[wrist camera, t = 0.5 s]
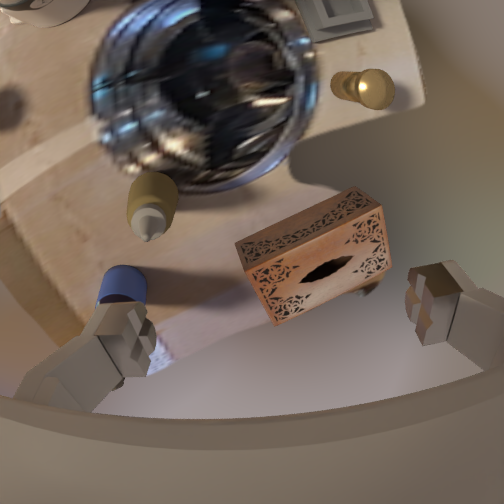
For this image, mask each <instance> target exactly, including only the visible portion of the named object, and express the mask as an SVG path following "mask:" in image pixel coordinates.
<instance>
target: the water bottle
mask: <svg viewBox="0 0 504 504" xmlns="http://www.w3.org/2000/svg"><path fill="white" fill-rule="evenodd" d="M146 292H147V282H146V279H145V277H144V275H143V274H142V273H141V272H140V271H139V270H137V269H136V268H134V267H131V266H128V265H117V266H114V267H112V268H110V269H109V270H108V271H107V272H106V273H105V275H104V278H103V281H102V284H101V288H100V291H99V295H98V299H97V303H96V307H95V309H96V308H97V306H98V305H100V304H104V303H119V302H136V301H140V302H142V303H144V305H145V303H146ZM122 378H123V379H122V380H121V381H120V382H119V383H118V384H117V385H116V386H115V387H114V388H113V389H112V390H111V391H114V390H116V389H118V388H120V387H122V386H123V384H124V382H123V381H124V379H125V377H122Z"/></svg>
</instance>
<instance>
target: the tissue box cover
mask: <svg viewBox="0 0 504 504" xmlns="http://www.w3.org/2000/svg"><path fill="white" fill-rule="evenodd" d="M235 246H236V249H237V252H238V255H239V257H240V260H241V263H242V266H243V269H244V272H245V273H246V275H247V277H248V279H249V281H250V283H251V285H252V286H253V288H254V290H255V292H256V294H257V296H258V297H259V299H260V301H261V303H262V305H263V307H264V308H265V310H266V312H267V314H268V316H269V318H270V319H271V321H272V323H273V325H274V326H277V325H279V324H281V323H284V322H286V321H288V320H290V319H292V318H294V317H296V316H298V315H300V314H303V313H305V312H307V311H309V310H311V309H313V308H315V307H317V306H319V305H321V304H323V303H325V302H327V301H329V300H331V299H333V298H335V297H337V296H339V295H341V294H343V293H345V292H347V291H349V290H351V289H352V288H354V287H356V286H358V285H360V284H362V283H364V282H366V281H368V280H370V279H371V278H373V277H375V276H377V275H379V274H381V273H383V272H384V271H386V270H388V269H390V268H392V261H391V255H390V248H389V242H388V236H387V230H386V225H385V219H384V214H383V209H382V205H381V204H380V203H378V202H377V201H375V200H374V199H372V198H371V197H370V196H368V195H367V194H366V193H364V192H362V191H361V190H360V189H358V188H357V187H356V186H353V187H351V188H349V189H347V190H344V191H342V192H340V194H337V195H335V196H333V197H331V198H329V199H327V200H325V201H322V202H320V203H318V204H316V205H314V206H312V207H310V208H307V209H305V210H303V211H301V212H299V213H297V214H295V215H293V216H290V217H288V218H286V219H284V220H282V221H280V222H278V223H276V224H274V225H271V226H269V227H267V228H265V229H263V230H261V231H259V232H257V233H255V234H253V235H250V236H248V237H246V238H244V239H242V240H240V241H238V242H236V243H235Z"/></svg>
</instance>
